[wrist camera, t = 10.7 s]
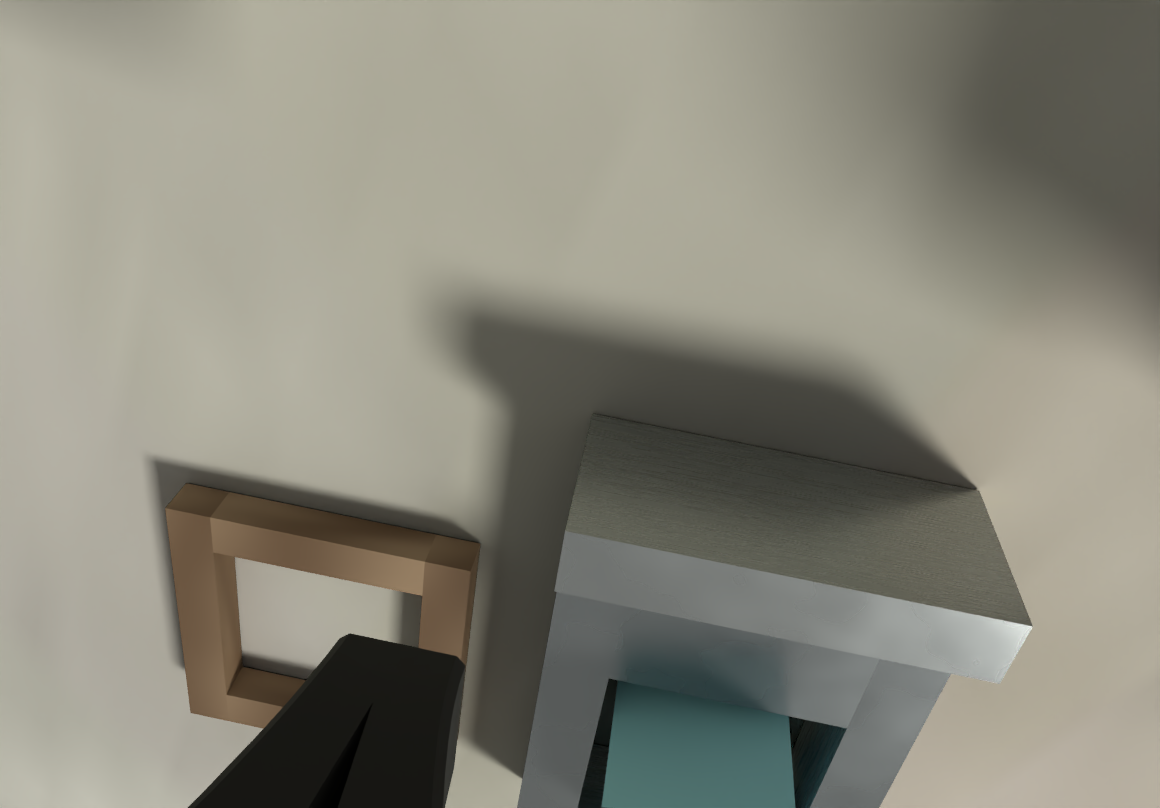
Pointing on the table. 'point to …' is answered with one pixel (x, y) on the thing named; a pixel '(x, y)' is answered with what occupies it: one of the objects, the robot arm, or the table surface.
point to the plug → (695, 753)
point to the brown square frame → (308, 543)
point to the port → (766, 604)
